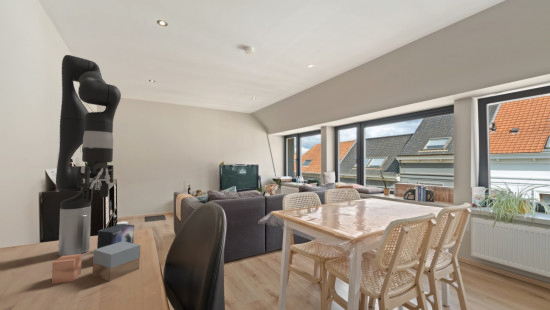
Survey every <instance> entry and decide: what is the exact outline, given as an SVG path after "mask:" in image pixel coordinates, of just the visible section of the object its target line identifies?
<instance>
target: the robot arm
mask: <svg viewBox="0 0 550 310" xmlns="http://www.w3.org/2000/svg"><path fill="white" fill-rule="evenodd" d="M74 82H76V83H78V84H79V86H78V90H77V91H76V88H75V85H74ZM77 92H78V93H77ZM121 98H122V93H121V91H120V89H119V88H118V87H117V86H116V85H113V84H109V83H107V82H106V81H105V80H104V79H103V76H102V72H101V69H100V67H99V65H98V64H97V63H96V62H95V61H93V60H89V59H86V58H83V57H78V56H75V55H71V54H66V55H64V56H63V58H62V61H61V105H60V107H61V109H60V116H59V117H60V119H59V150H58V157H57V158H58V159H57V167H56V173H55V186H56V188H57V190H58V191H78V190H79V191H80V192H78V193H77V194H75V195H74V196H71V197H69V198H66V199H63V200H61V202H60V203H59V204H60V205H59V206H60V207H59V229H58V230H59V231H58V232H59V234H58V253H57V254H58V256H59V257H61V256H68V255H77V254H83V253H84V254H85V253H86V252H88V251H89V250H90V248H91V247H90V244H91V242H90V241H91V218H92V217H91V216H92V215H91V214H92V201H93V200H94V199H93V197H94V195H93V193H94V189H93V188H94V186H95V184H96V183H97V182H98V183H99V185H100V187H99V197H100V198H107V197H109V190H110V189H109V188H110V185H111V183H114V165H113V164H108V163H112V162H113V158H114V157H113V154H114V135H113V133H114V132H113V131H114V120H115V119H114V118H115V116H116V111H117V108H118V106H119V103H120V102H121ZM84 103H86V104H89V105H93V106H94V105H95V106H101V107H105V109H104V110H102V111H90V112H89V111H88V109H87V107H86V106H85V104H84ZM81 146H82V151H81V152H82V153H81V154H82V157H81V160H82V162H84V163H86V165H85V166H84V165H79V166H78V165H76V166H75V165H73V166H71V165H70V163H71V160H72V158H73V156H74V155H75V153H76V152H77V150H78V149H79V148H80V147H81Z"/></svg>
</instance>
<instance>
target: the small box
mask: <svg viewBox="0 0 550 310" xmlns="http://www.w3.org/2000/svg"><path fill="white" fill-rule="evenodd" d="M134 237H135V224H129V223H128V224H119V225H117V224H116V225H113V226H110V227H106V228H102V229H99V230H97V244H96V247H97V248H96V249H98V248H101V247H105V246H108V245H112V244H115V243H118V242H122V241H124V242H129V243H133V244H135V242H134V241H135V238H134Z"/></svg>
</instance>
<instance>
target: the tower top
mask: <svg viewBox="0 0 550 310" xmlns="http://www.w3.org/2000/svg"><path fill="white" fill-rule="evenodd" d="M137 258H139V259H140V258H141V245H140V244H136V243H134V244H133V243H129V242H124V241H122V242H118V243H115V244H112V245H108V246H105V247H101V248H98V249H97V248H95V249H93V259H92V261H93V262H92V264H93V263H95V264H98V265H102V266H105V267H108V268H113V267H116V266H119V265H121V264H124V263H127V262H129V261H132V260H134V259H137Z"/></svg>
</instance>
